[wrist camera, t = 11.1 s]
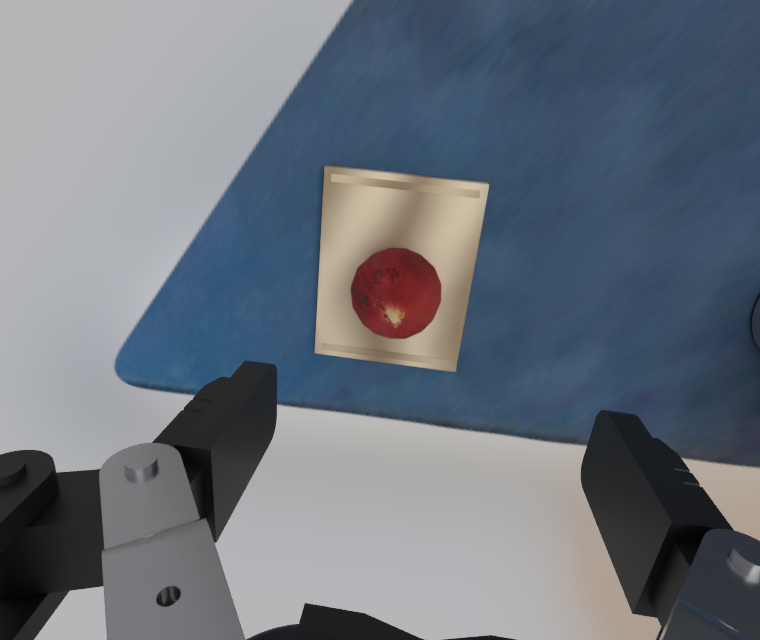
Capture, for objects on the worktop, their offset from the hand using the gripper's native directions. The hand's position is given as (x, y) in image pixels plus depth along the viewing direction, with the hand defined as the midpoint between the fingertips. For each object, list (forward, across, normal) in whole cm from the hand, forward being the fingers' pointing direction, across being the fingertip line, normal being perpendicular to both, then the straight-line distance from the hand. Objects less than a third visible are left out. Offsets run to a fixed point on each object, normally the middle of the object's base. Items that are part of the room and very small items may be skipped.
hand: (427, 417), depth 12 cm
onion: (+23, +2, +3) cm, 23 cm away
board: (+24, +2, +3) cm, 24 cm away
